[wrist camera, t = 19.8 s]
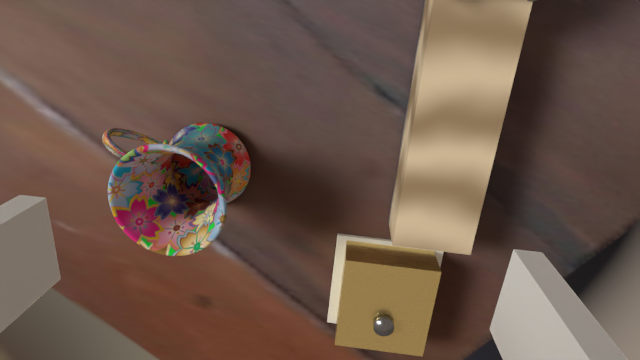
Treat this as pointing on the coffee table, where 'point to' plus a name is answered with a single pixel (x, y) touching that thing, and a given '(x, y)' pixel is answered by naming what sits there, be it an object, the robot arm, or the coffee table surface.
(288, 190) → the coffee table surface
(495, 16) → the body
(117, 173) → the mug
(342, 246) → the felt pad
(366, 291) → the yellow block with knob
